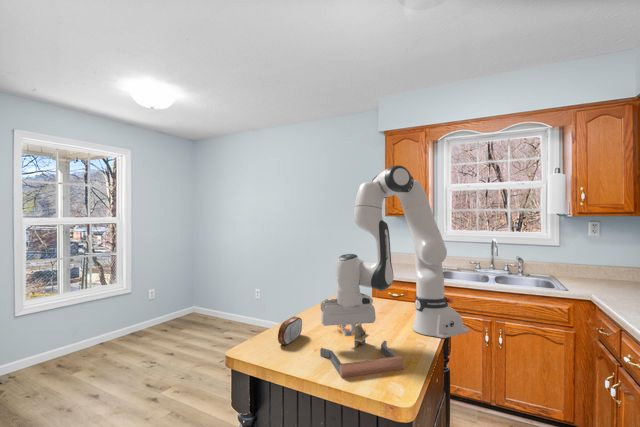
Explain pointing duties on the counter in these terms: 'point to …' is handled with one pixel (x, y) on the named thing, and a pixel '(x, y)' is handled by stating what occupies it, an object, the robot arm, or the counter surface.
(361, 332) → the grey irregular piece
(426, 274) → the robot arm
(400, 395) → the counter surface
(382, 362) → the brown drawer handle
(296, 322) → the tin
